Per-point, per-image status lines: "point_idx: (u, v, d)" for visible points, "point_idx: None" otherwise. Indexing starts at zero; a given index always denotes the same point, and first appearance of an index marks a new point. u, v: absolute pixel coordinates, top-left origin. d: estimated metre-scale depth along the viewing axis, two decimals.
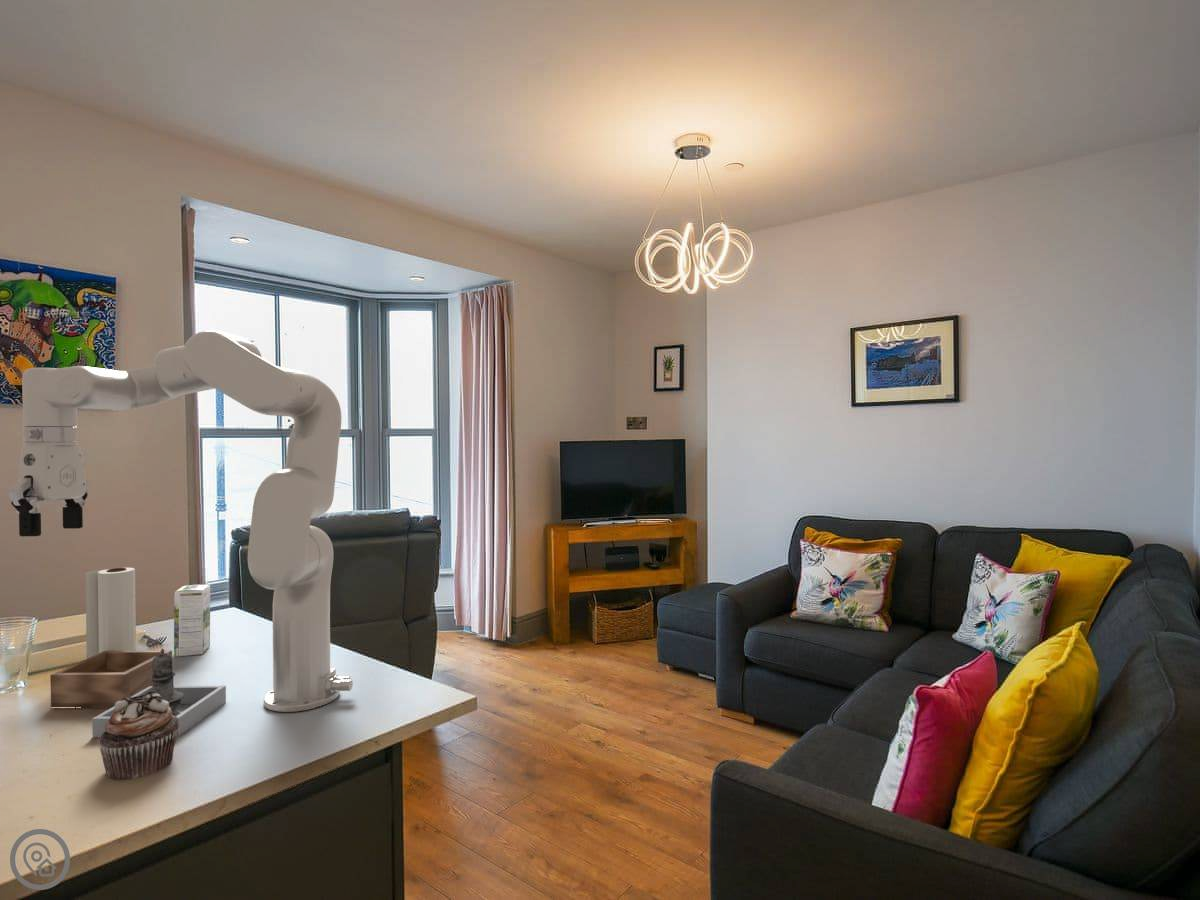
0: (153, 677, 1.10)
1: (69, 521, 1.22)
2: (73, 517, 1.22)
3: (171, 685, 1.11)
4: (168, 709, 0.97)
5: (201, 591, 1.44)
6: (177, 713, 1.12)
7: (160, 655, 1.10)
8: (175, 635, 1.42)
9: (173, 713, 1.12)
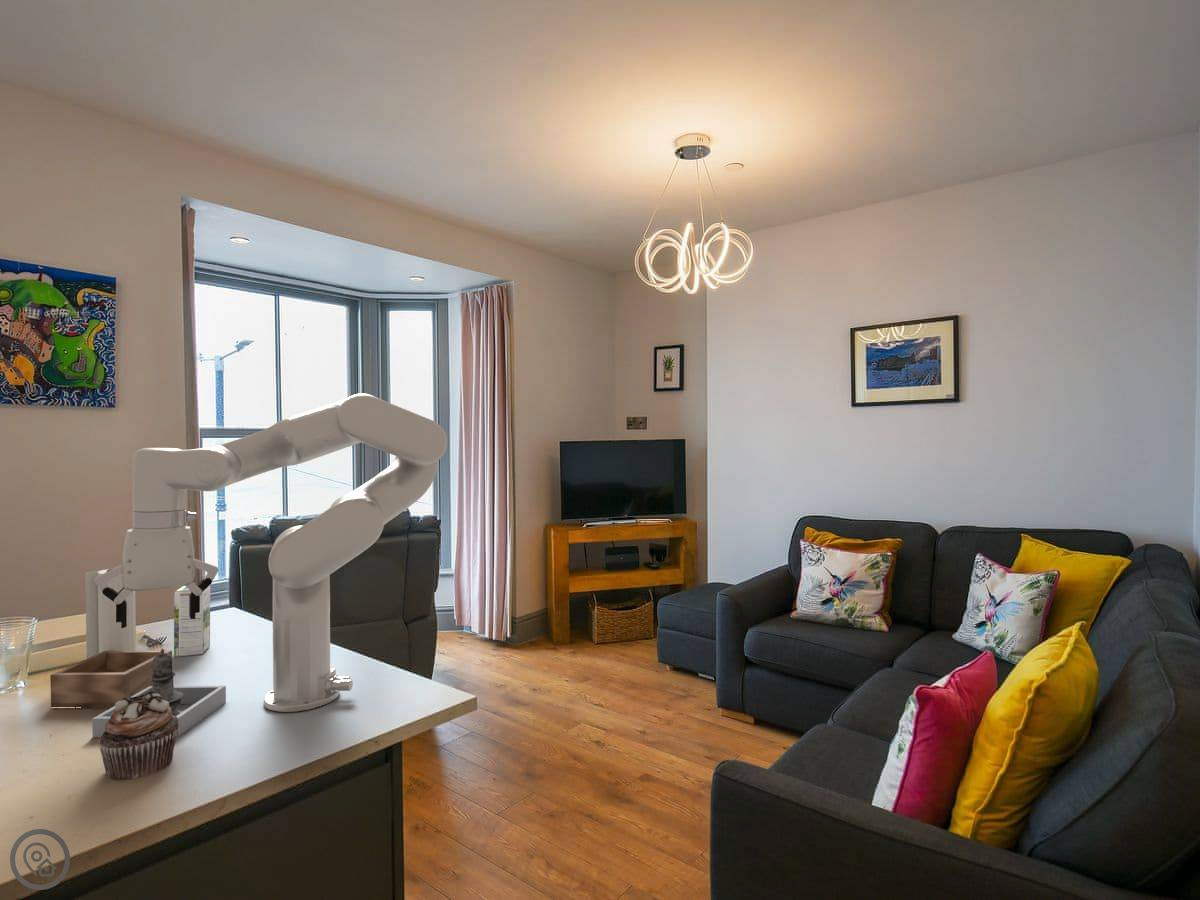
0: (153, 677, 1.10)
1: None
2: None
3: (171, 685, 1.11)
4: (168, 709, 0.97)
5: None
6: (177, 713, 1.12)
7: (160, 655, 1.10)
8: (175, 635, 1.42)
9: (173, 713, 1.12)
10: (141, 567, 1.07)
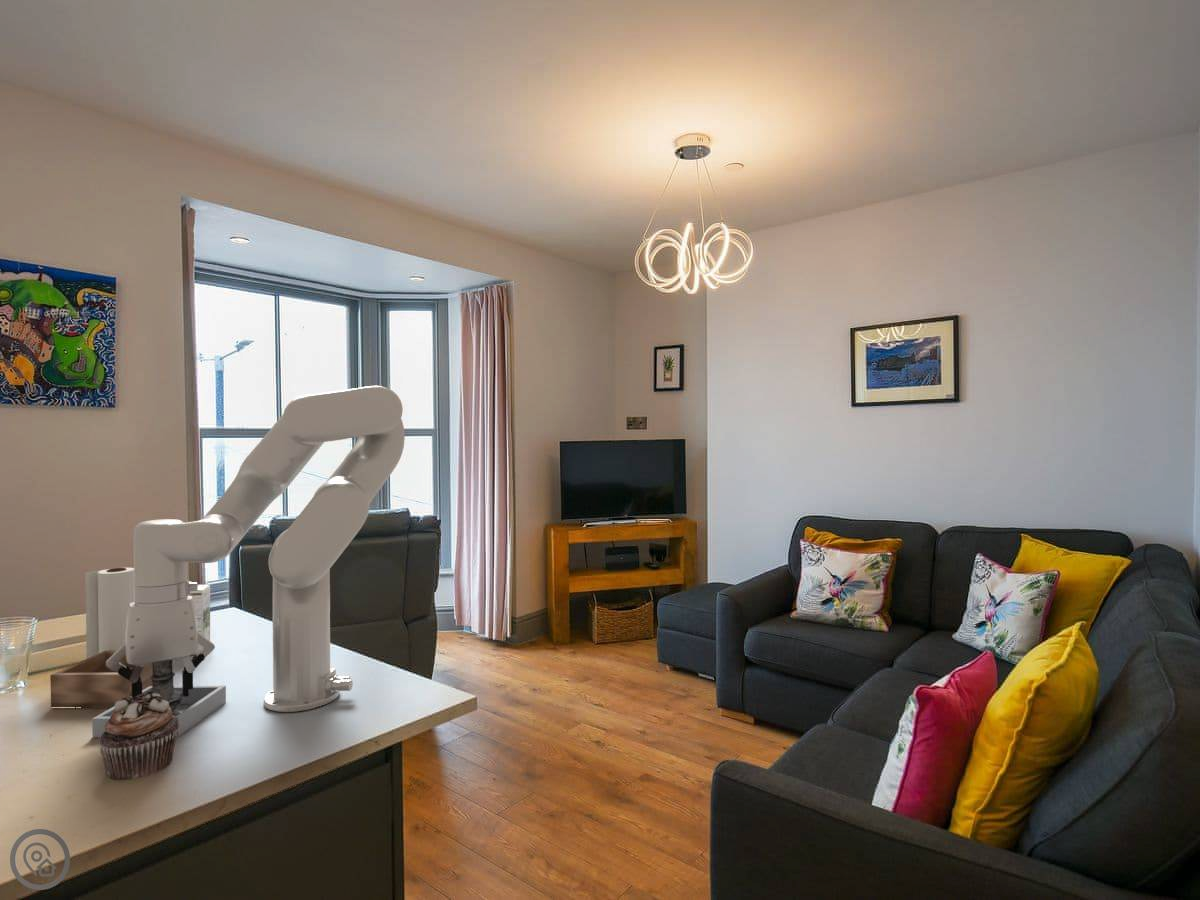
0: (153, 677, 1.10)
1: None
2: None
3: (171, 685, 1.11)
4: (168, 709, 0.97)
5: (201, 591, 1.44)
6: (177, 713, 1.12)
7: None
8: None
9: (173, 713, 1.12)
10: (144, 642, 1.07)
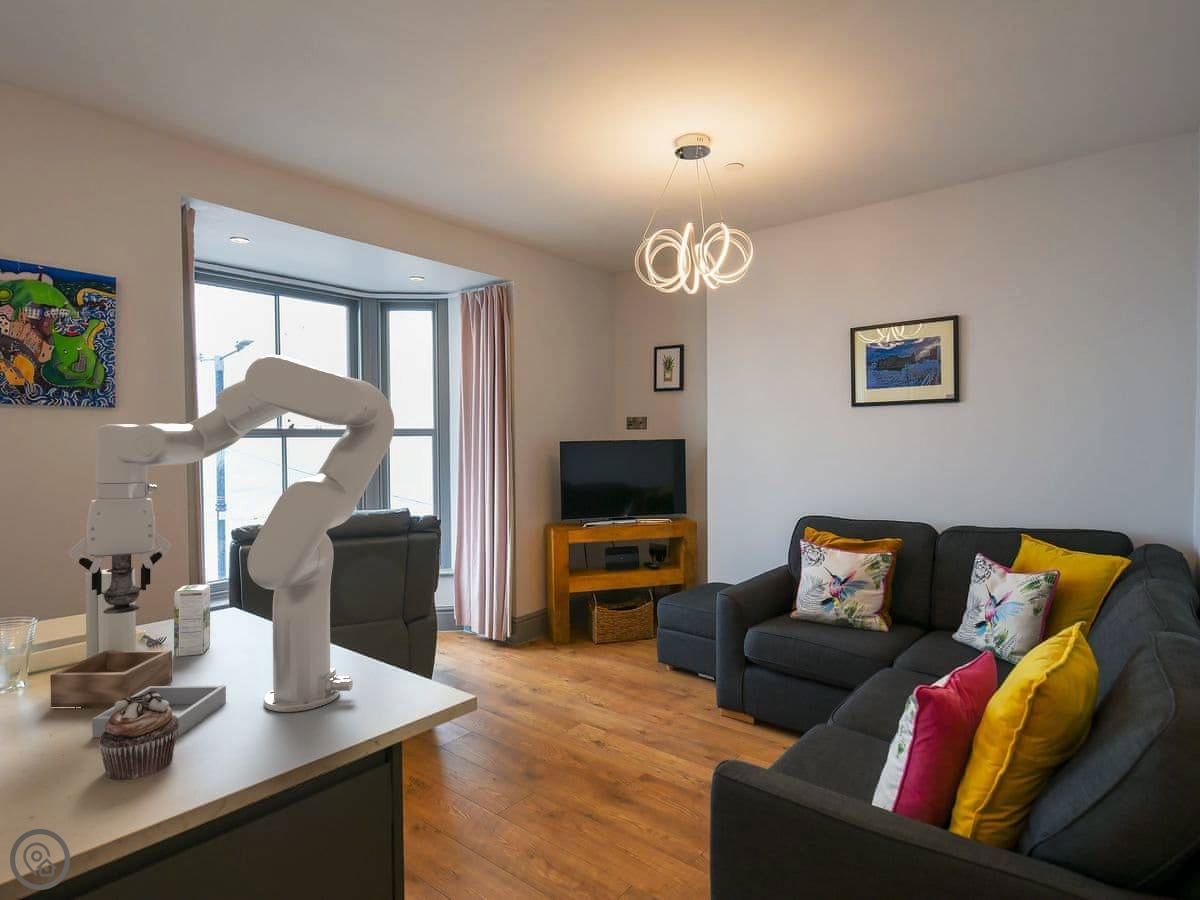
0: (113, 569, 1.17)
1: None
2: None
3: (129, 578, 1.19)
4: (168, 709, 0.97)
5: (201, 591, 1.44)
6: (135, 605, 1.20)
7: None
8: (175, 635, 1.42)
9: (131, 605, 1.20)
10: (104, 535, 1.15)
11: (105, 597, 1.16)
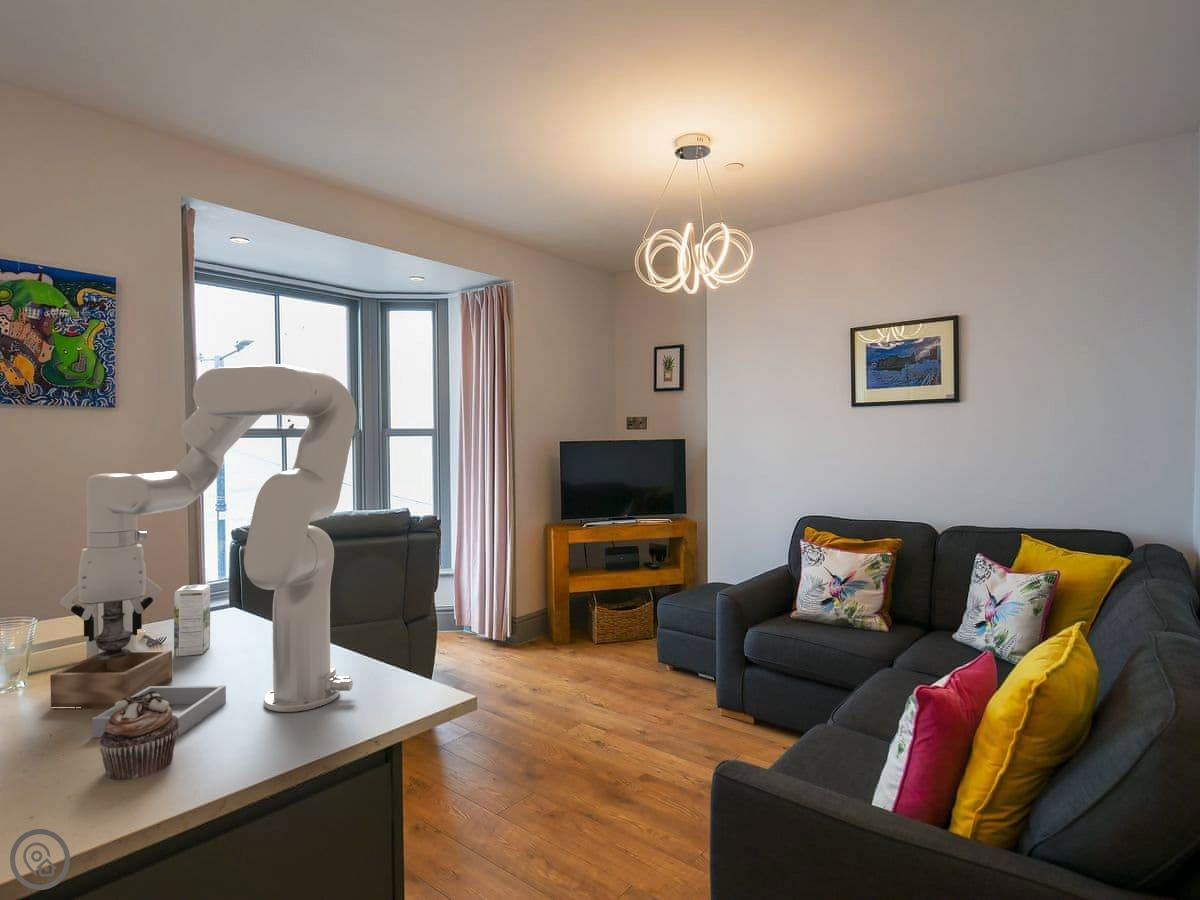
0: (104, 615, 1.20)
1: None
2: None
3: (121, 624, 1.21)
4: (168, 709, 0.97)
5: (201, 591, 1.44)
6: (126, 650, 1.23)
7: None
8: (175, 635, 1.42)
9: (123, 650, 1.23)
10: (95, 583, 1.18)
11: (97, 643, 1.19)
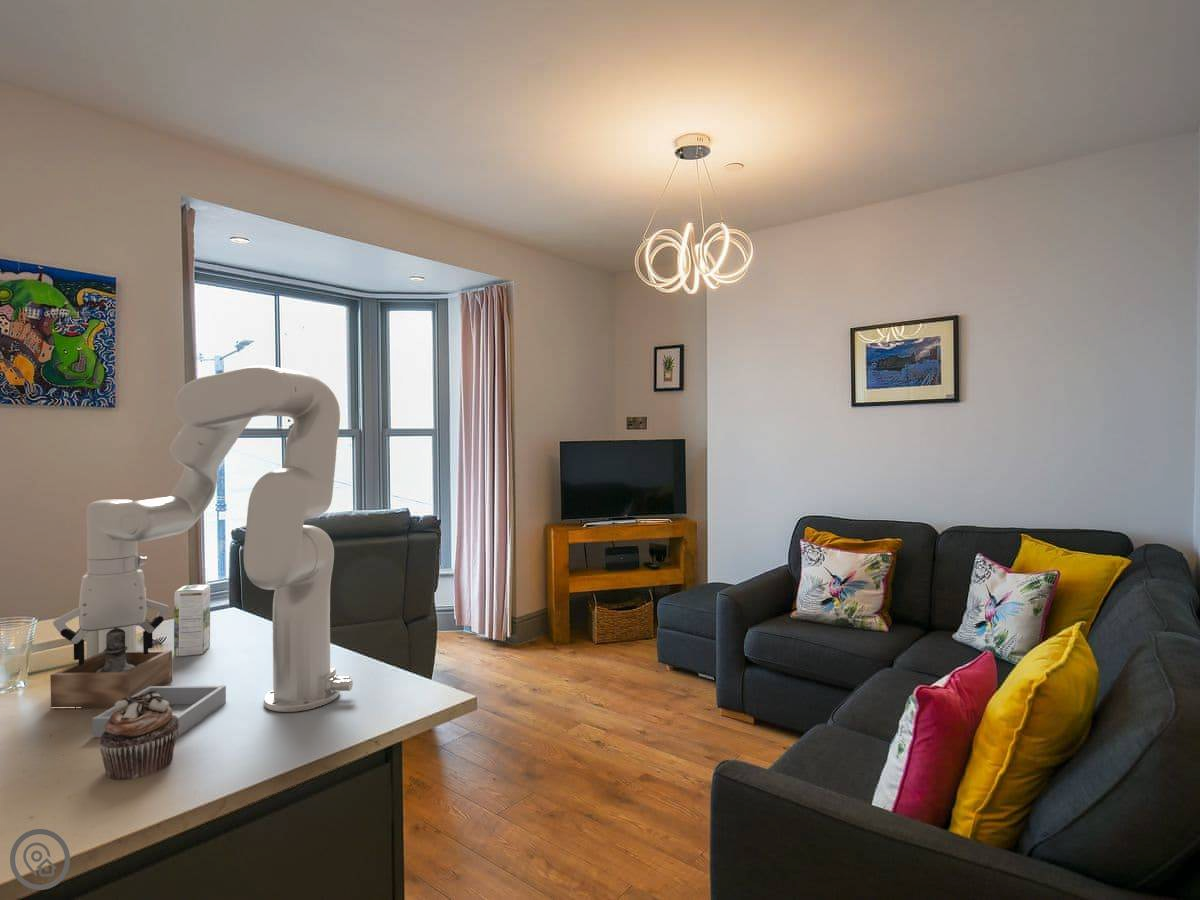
0: (107, 650, 1.20)
1: None
2: None
3: (123, 658, 1.22)
4: (168, 709, 0.97)
5: (201, 591, 1.44)
6: None
7: (113, 630, 1.21)
8: (175, 635, 1.42)
9: None
10: (96, 610, 1.18)
11: None
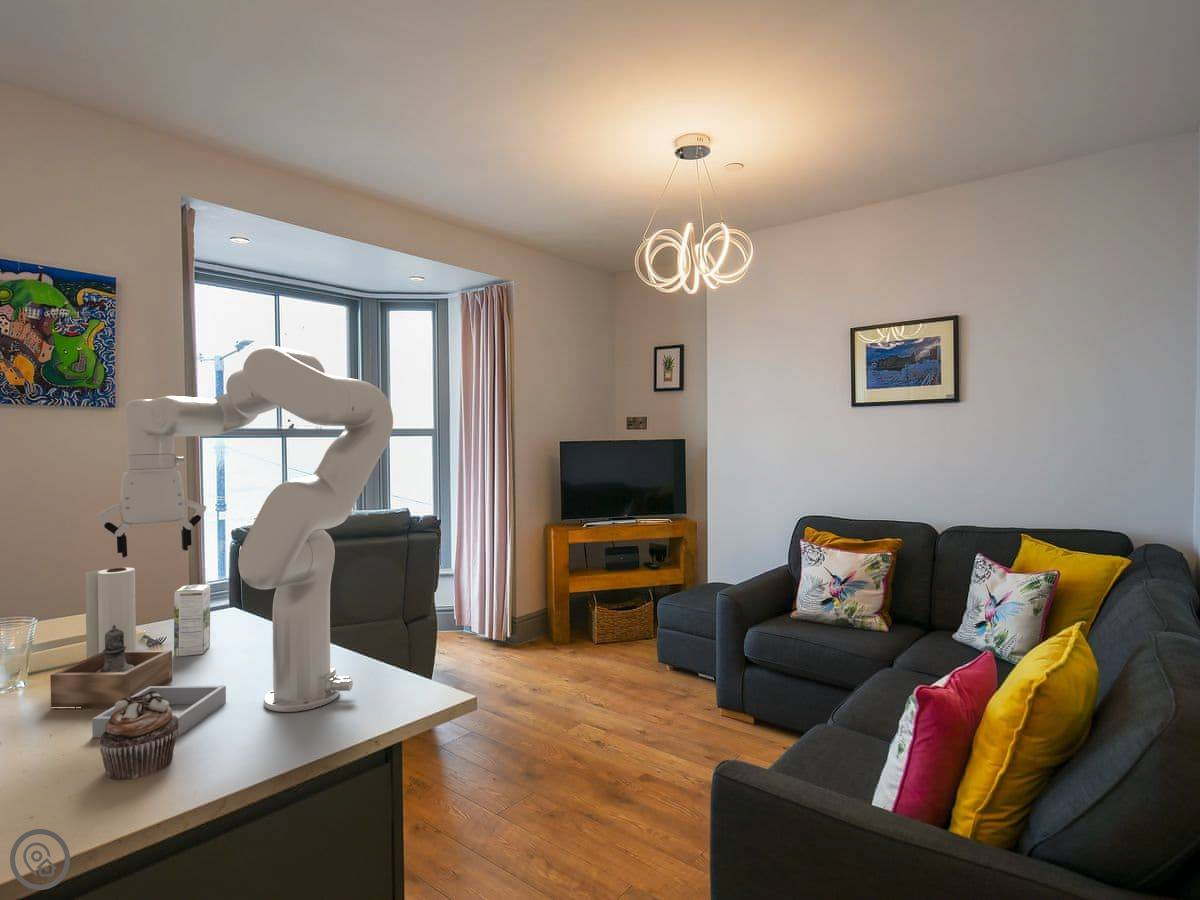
0: (106, 650, 1.20)
1: None
2: None
3: (122, 658, 1.22)
4: (168, 709, 0.97)
5: (201, 591, 1.44)
6: None
7: (112, 630, 1.21)
8: (175, 635, 1.42)
9: None
10: (138, 503, 1.22)
11: None
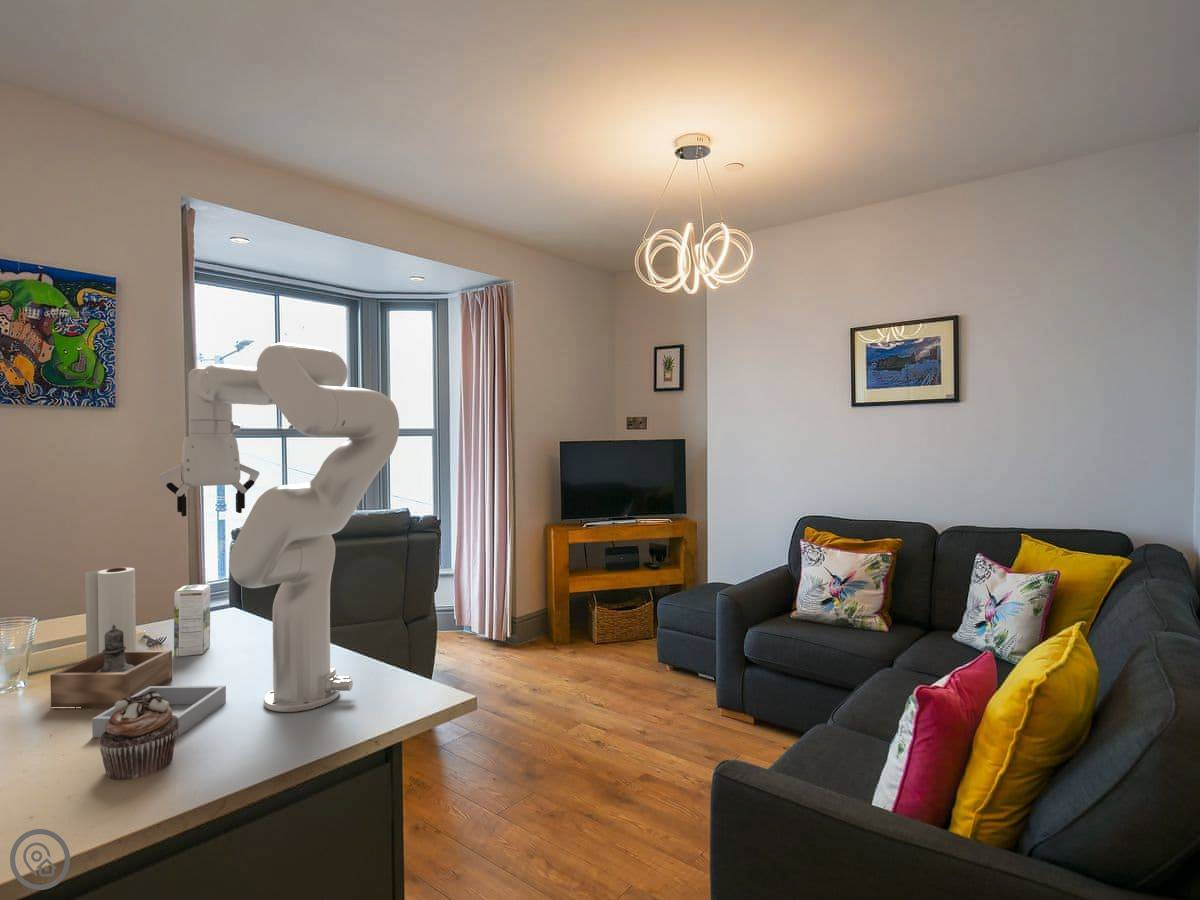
0: (105, 650, 1.20)
1: None
2: None
3: (122, 658, 1.22)
4: (168, 709, 0.97)
5: (201, 591, 1.44)
6: None
7: (111, 630, 1.21)
8: (175, 635, 1.42)
9: None
10: (198, 466, 1.29)
11: None
